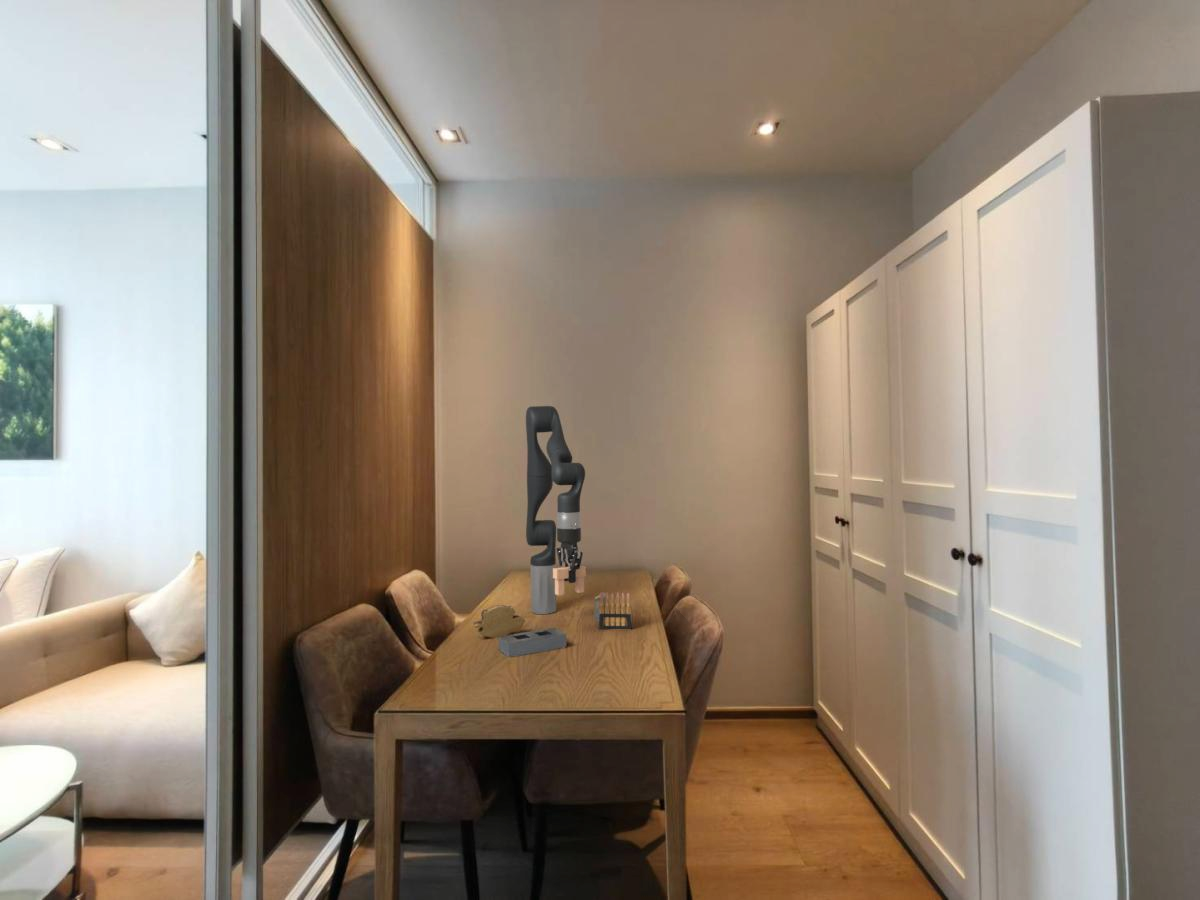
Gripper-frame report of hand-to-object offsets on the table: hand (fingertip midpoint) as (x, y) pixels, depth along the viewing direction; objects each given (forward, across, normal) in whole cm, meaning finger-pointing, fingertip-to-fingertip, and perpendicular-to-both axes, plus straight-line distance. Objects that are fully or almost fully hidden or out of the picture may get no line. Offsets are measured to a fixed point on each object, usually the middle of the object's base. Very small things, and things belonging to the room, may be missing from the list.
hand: (569, 581), depth 200 cm
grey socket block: (+17, +6, -15) cm, 24 cm away
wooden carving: (+17, -12, -19) cm, 28 cm away
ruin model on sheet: (+18, -16, +21) cm, 32 cm away
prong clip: (+4, 0, 0) cm, 4 cm away
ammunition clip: (+17, 0, +17) cm, 24 cm away
